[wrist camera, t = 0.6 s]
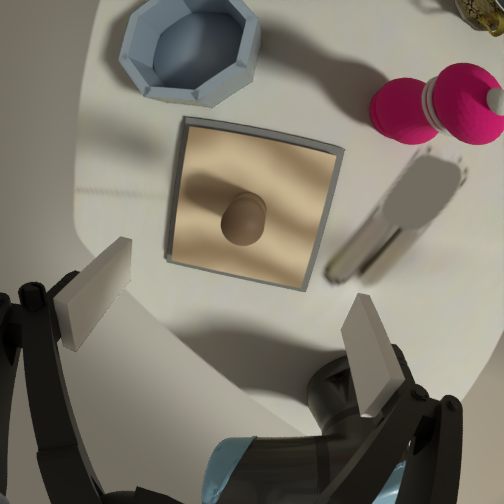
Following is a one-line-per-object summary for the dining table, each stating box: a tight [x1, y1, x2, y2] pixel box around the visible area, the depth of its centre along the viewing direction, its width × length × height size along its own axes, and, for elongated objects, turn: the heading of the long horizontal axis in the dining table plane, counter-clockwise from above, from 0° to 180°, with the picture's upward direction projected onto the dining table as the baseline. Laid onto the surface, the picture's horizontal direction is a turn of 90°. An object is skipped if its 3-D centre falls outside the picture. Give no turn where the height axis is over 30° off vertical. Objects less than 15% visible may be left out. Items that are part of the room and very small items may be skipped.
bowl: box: [118, 0, 262, 108], centre depth 25 cm, size 13×13×7 cm
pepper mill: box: [370, 63, 504, 145], centre depth 20 cm, size 7×7×20 cm
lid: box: [172, 126, 336, 288], centre depth 31 cm, size 16×16×7 cm
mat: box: [167, 117, 345, 292], centre depth 34 cm, size 18×18×1 cm
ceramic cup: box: [455, 0, 504, 37], centre depth 17 cm, size 13×10×10 cm
